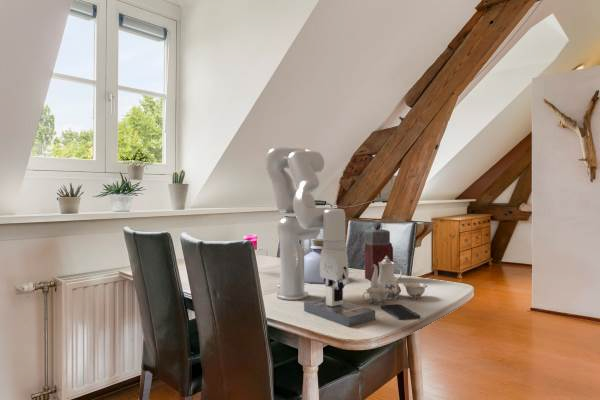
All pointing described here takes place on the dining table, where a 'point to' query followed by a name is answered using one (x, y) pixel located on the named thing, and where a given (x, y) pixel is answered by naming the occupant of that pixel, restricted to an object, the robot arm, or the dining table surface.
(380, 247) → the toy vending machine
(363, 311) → the fader console
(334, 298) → the robot arm
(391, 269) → the chinaware
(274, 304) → the dining table surface
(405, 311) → the phone
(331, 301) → the fader tab
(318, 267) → the bottle
